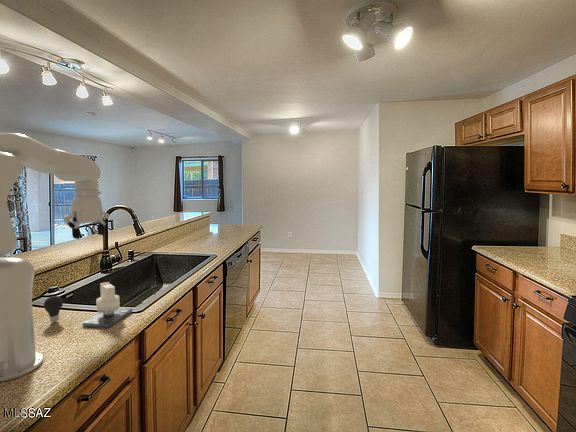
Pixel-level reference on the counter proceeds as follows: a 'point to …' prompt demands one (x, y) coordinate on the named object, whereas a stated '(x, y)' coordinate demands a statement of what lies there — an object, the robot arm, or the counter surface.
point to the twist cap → (107, 298)
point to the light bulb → (53, 307)
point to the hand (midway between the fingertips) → (89, 236)
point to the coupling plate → (107, 318)
